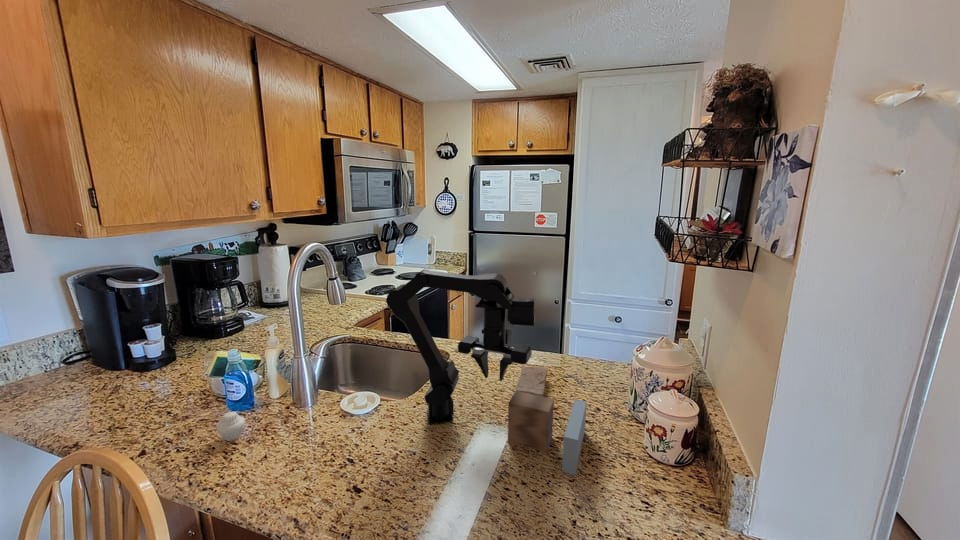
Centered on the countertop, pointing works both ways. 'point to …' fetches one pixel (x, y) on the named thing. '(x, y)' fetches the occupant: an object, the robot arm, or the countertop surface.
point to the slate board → (574, 437)
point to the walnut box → (530, 420)
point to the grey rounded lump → (231, 426)
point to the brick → (532, 380)
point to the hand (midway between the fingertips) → (494, 378)
